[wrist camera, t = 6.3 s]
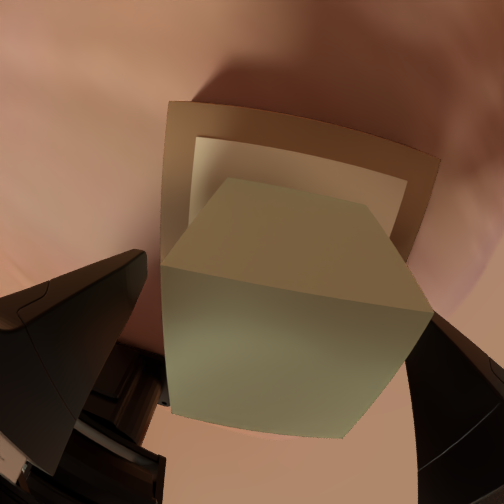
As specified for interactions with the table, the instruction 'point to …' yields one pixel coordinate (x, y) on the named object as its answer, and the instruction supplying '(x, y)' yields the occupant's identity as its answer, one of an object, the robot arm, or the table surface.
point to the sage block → (285, 312)
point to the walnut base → (288, 166)
